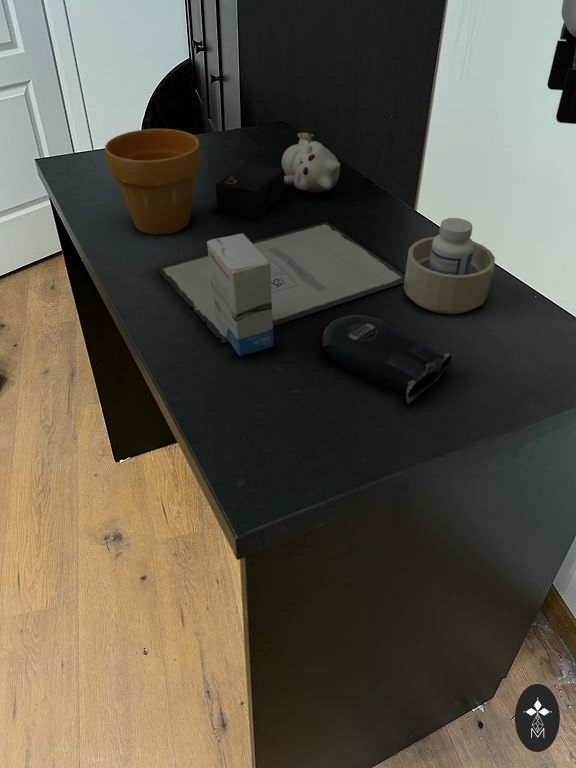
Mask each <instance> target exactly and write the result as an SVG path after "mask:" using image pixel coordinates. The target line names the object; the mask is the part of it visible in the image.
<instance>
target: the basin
mask: <svg viewBox="0 0 576 768" xmlns="http://www.w3.org/2000/svg"><path fill="white" fill-rule="evenodd" d="M435 237H436V236H430V237H426V238H421V239H419V240H418V241H415V242H414V243H413V244H412V245H410V247H409V248H408V251H407V258H406V259H407V260H406V266H405V272H404V273H405V274H404V275H405V281H404V282H403V290H404V292H405V295H406V296H407V297H408V298H409V299H411V300H412V301H413V302H414V303H415V304H416V305H418V306H419V307H421V308H423V309H425V310H428V311H431V312H434V313H439V314H446V315H452V314H453V315H455V314H456V315H457V314H463V313H466V312H470V311H472V310H475V309H476V308H478V307H480V306H482V305H483V304H484V302H485V301H486V300H487V298H488V296H489V292H490V287H491V282H492V278H493V274H494V269H495V265H496V260H495V259H496V258H495V256H494V254H493V253H492V251H491V250H490V249H488V248H487V247H486V246H485V245H482V244H480V243H478V242H476V241H473V240H472V241H473V243H474V251H473V256H472V261H471V266H470V271H469V274H468V275H451V274H443V273H439V272H436V271H432V270H430V269H428V268H429V261H430V255H431V248H432V242H433V239H434V238H435Z"/></svg>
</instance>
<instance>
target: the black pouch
mask: <svg viewBox="0 0 576 768" xmlns="http://www.w3.org/2000/svg"><path fill="white" fill-rule="evenodd" d="M321 341H322V342H321V343H322V347H323V350H324V351H325V353H326V354H327V355H328V356H329V357H330V358H332V360H334V361H336V363H338V364H340V365H341V367H343V368H345V369H347V370H349V371H351V372H352V373H353V372H354V373H355V374H357V375H359V376H361V377H363V378H364V379H366V380H369V381H371V382H374V383H375V384H378V385H380V386H383V387H386V388H388V389H390V390H392V391H396V392H398V393H400V394H402V395H404V396H405V398H406V402H407V404H408V405H409V404H410V403H411V402H412V401H414V400H415V399H416V398H417V397H418V396H419V395H420V394H421V393H423V392H424V391H426V390H427V389H428V388H430V387H431V386H432V385H434V384H435V383H436V382H438V381H439V379H440V377H441V376H442V374H443V372H444V371H445V370H446V369H447V368H448V367H449V365H450V364H452V363H453V361H452V358H453V356H452V355H451V353H449V352H447V353H441V352H438V351H435V350H433V349H431V348H429V347H427V346H425V345H423V344H421V343H419V342H418V341H416V340H415V339H412V338H410V337H408V336H406V335H405V334H403V333H402V332H400V331H398V330H396V329H395V328H393V327H392V326H391V325H389V324H388V323H387V322H385V321H383V320H382V319H380V318H378V317H372V316H369V315H362V314H350V315H344V316H341V317H338V318H336V319H334V320H332V321H331V322H330V323H329V324H328V326H326V328H325V329H324V331H323V334H322V339H321Z"/></svg>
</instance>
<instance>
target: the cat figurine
mask: <svg viewBox="0 0 576 768" xmlns="http://www.w3.org/2000/svg"><path fill="white" fill-rule="evenodd" d="M297 137H298V138H299V140H298V142H297V143H296V144H293V145H291V146H289V147H288V148H286V150H285V151H284V152H283V155H282V157H281V169H284V185H286V186H289V187H295V188H296V189H297V190H299V191H303V192H304V191H306V192H308V193H312V194H313V193H315V194H316V193H322V192H326V191H330V190H331V189H334V187H335V186H336V185H337V183H338V181H339V177H340V171H341V162H339V160H338V159H337V157H336V155H335V154H334V153H333V152H332V151H330V150H329V149H328V148H326V147H325V146H324V145H323V144H322V143H320V142H319V141H316V140H312V138H315V135H314V134H313V133H308V132H298V133H297Z"/></svg>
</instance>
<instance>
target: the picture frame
mask: <svg viewBox="0 0 576 768" xmlns="http://www.w3.org/2000/svg"><path fill="white" fill-rule="evenodd" d="M250 242H251V243H252V244H253V245H254V246H255V247H256V248H257V249H258V250H259V251H260V252H261V253H262V255H263V256H264V257H265V258H266V259H267V260H268V261H269V262H270V269H271V295H272V319H273V327H274V326H277V325H281V324H283V323H286V322H290V321H292V320H295V319H298V318H302V317H304V316H307V315H310V314H313V313H316V312H319V311H322V310H325V309H328V308H331V307H335V306H336V305H341V304H343V303H346V302H349V301H352V300H354V299H358V298H361V297H365V296H368V295H369V294H373V293H376V292H379V291H382V290H385V289H387V288H391V287H394V286H397V285H400V284H402V283H403V284H404V281H405V274H404V273H402V272H401V271H400V270H398V269H396V268H395V267H394V266H392V265H391V264H389V263H388V262H386V261H385V260H384V259H382V258H380V257H379V256H377V255H376V254H375V253H374V252H372V251H370V250H369V249H368V248H366V247H365V246H362V245H361V244H360V243H358V242H357V241H356V240H354V239H353V238H351V237H350V236H349V235H347V234H346V233H344V232H342V231H341V230H339V229H338V228H337V227H336V226H335V225H332V224H331V223H330V222H328V221H323V222H320V223H316V224H312V225H309V226H304V227H300V228H298V229H293V230H290V231H287V232H282V233H280V234H274V235H272V236H269V237H265V238H261V239H257V240H253V241H250ZM155 269H156V271H158V274H160V276H162V278H163V279H164V280H165V281H166V283H168V284H170V286H171V287H172V288H174V291H175V293H176V294H177V295H179V296H180V298H182V299H183V300H184V301H185V303H186V304H188V307H190V308H191V309H193V310H194V311H193V312H194V314H197V315H198V317H199V318H200V319H201V321H202V322H203V323H206V326H207V328H208V330H210V332H212V333H213V335H214V336H215V337H216V338H219V339H220V344H223V343H226V342H229V340H228V339H227V337H226V336H225V334H224V333H223V331H222V330H221V328H220V327H219V326H218V324H217V323H216V316H215V307H214V299H213V290H212V281H211V272H210V263H209V255H208V253H205V254H201V255H198V256H194V257H191V258H187V259H183V260H180V261H176V262H171V263H168V264H165V265H161V266H157V267H155Z"/></svg>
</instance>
